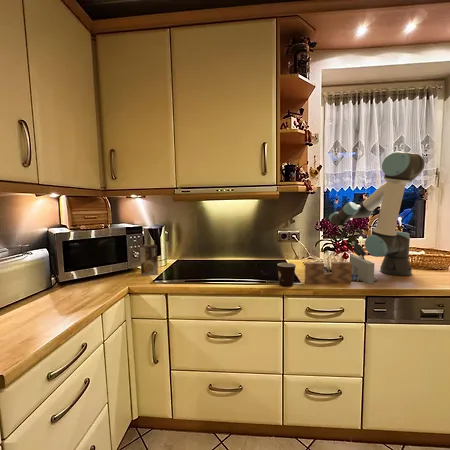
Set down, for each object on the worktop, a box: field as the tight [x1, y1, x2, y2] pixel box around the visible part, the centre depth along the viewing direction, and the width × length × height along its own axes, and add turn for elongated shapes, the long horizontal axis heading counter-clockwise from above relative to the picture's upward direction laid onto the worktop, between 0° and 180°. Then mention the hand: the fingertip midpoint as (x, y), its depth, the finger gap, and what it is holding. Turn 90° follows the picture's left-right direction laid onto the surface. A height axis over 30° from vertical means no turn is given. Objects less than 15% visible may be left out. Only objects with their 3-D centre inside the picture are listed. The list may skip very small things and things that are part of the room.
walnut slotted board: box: [304, 261, 352, 285], centre depth 143 cm, size 22×3×10 cm, turn 92°
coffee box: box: [139, 244, 159, 277], centre depth 162 cm, size 9×6×16 cm
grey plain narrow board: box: [349, 253, 375, 285], centre depth 152 cm, size 24×3×10 cm, turn 2°
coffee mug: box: [277, 262, 296, 288], centre depth 141 cm, size 12×9×10 cm
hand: (353, 266), depth 159 cm, fingers open, 11 cm apart
